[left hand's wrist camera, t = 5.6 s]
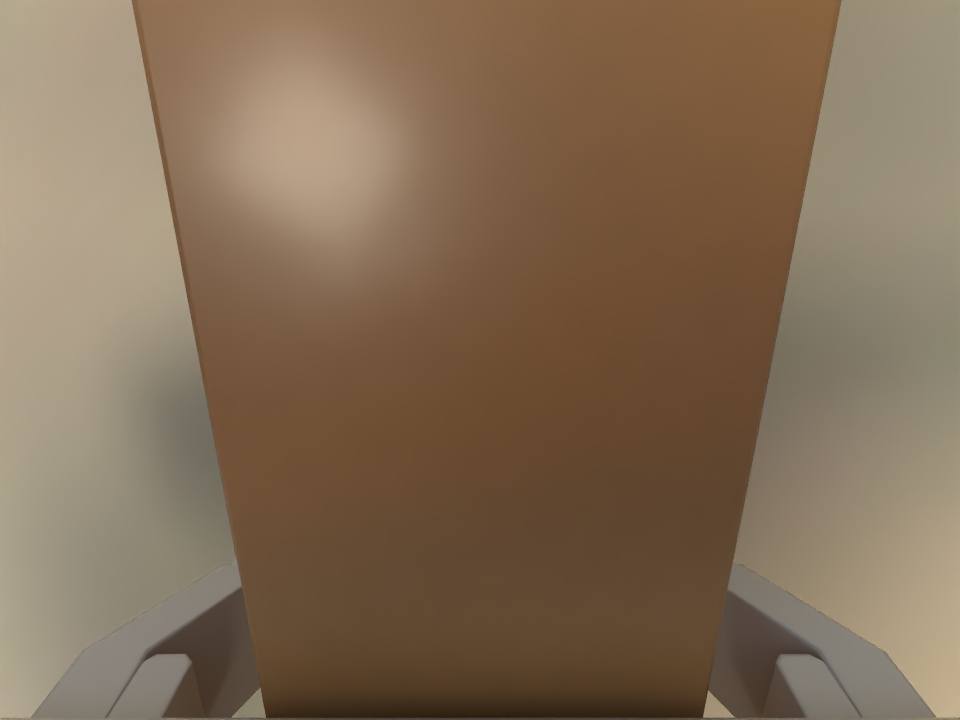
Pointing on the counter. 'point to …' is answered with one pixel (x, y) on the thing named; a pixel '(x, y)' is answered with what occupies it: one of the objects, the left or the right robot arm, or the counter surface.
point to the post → (485, 330)
